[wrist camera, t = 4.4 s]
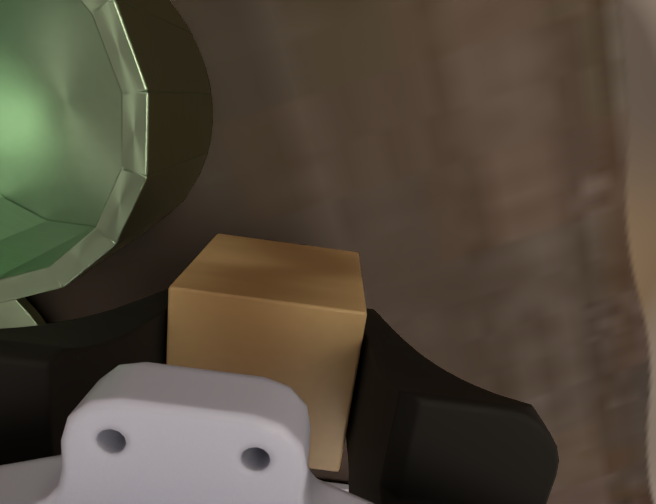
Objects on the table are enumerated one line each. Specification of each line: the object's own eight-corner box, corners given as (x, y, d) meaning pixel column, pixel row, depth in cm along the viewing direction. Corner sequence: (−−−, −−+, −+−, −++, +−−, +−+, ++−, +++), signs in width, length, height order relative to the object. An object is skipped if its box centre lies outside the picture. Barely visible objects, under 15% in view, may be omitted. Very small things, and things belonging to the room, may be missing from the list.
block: (359, 251, 14) (367, 312, 10) (338, 374, 16) (339, 473, 12) (216, 232, 14) (167, 287, 10) (208, 358, 16) (162, 451, 12)
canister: (221, -35, 16) (151, -116, 10) (205, 254, 19) (145, 324, 13) (-90, -81, 16) (-353, -192, 10) (-53, 219, 19) (-234, 275, 13)
